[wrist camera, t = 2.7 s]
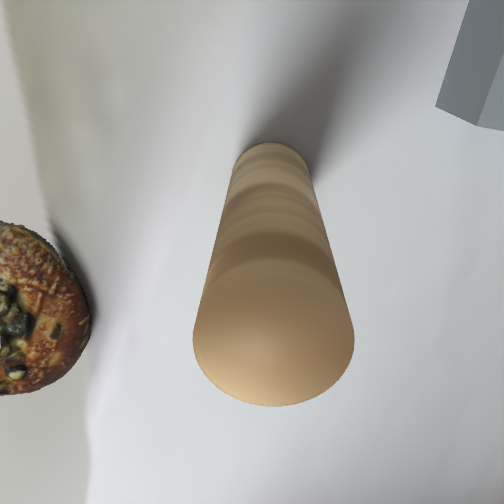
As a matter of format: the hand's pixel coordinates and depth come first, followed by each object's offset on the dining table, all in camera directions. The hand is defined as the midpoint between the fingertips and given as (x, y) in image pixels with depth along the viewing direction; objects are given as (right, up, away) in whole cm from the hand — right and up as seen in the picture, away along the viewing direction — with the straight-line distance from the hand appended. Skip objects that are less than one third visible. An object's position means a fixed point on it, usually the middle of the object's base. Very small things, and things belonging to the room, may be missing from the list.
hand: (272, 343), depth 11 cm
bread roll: (-15, -1, +17) cm, 23 cm away
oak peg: (0, +6, +13) cm, 14 cm away
